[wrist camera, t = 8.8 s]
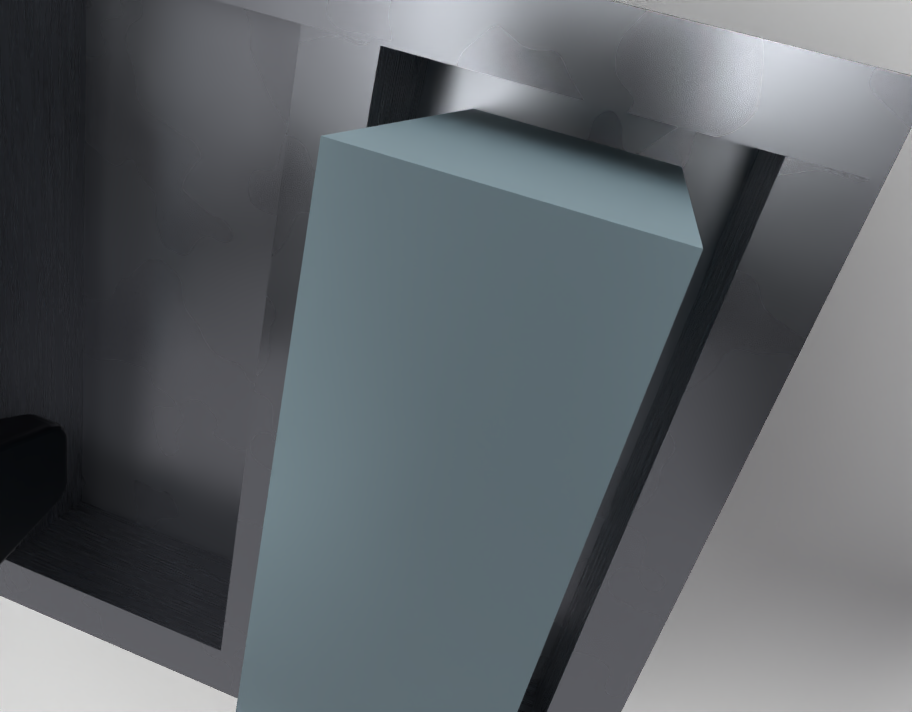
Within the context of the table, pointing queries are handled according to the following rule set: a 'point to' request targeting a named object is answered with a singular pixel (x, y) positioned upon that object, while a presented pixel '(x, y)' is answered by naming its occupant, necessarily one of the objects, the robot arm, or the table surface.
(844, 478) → the table surface
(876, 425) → the table surface
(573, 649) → the rack
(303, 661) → the panel
